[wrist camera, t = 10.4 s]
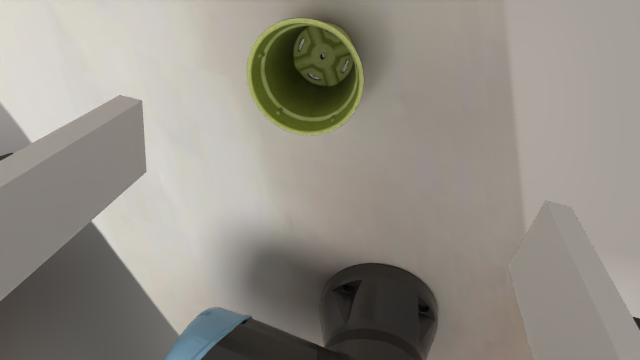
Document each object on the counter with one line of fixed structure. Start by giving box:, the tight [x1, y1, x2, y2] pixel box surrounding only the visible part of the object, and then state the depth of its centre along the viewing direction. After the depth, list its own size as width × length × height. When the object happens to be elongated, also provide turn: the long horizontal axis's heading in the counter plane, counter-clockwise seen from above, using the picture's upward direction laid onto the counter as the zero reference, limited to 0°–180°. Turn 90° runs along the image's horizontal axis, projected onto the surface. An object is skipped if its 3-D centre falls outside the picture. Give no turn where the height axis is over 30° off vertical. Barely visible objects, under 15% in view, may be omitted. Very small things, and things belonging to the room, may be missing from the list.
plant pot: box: [247, 18, 364, 135], centre depth 37 cm, size 9×9×9 cm
